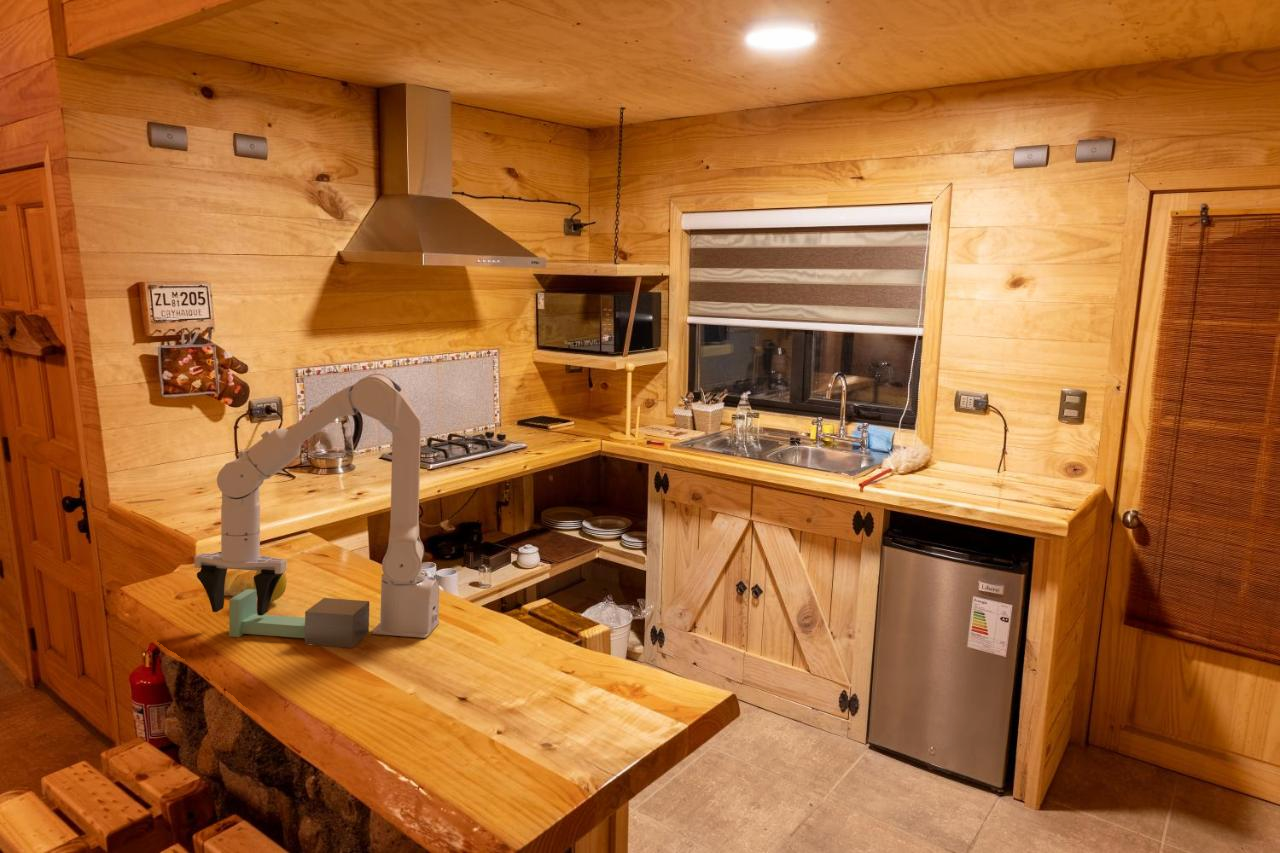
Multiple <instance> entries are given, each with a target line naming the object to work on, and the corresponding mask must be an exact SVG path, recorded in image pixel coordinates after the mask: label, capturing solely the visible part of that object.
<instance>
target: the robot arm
mask: <svg viewBox="0 0 1280 853" xmlns="http://www.w3.org/2000/svg"><path fill="white" fill-rule="evenodd" d="M359 412H360V413H361V414H363V415H365V416H367V417H370V418H371V419H374V420H377V421H378V422H379V423H380V424H382V426H384V427H385V428H386V429H387V430H388V431H389V432H391V434H392V442H391V443H392V444H391V445H392V446H391V447H392V448H391V449H392V450H391V483H390V484H391V487H390V523H389V524H390V525H389V526H390V527H389V533H388V545H387V550H386V553H385V555H384V556H383V559H382V562H381V567H382V568H381V569H382V572H383V574H381V579H380V585H381V586H380V617H379V618H380V621H379V623H378V624H377V625H376V626H375V627H374V628H373V629H372V630H371V632H370V633H371V634H372V635H381V636H382V635H383V636H395V637H396V636H399V637H410V638H422V639H423V638H424V639H426V638H427V637H428V636H429V635H430V634H431V633H432V632H433V630H434V629H435V628H436V627H437V626H438V624H439V623H440V619H439V614H440V612H439V610H440V609H439V608H440V585H439V582H438V581H437V580H434V579H430V578H427V577H426V573H425V572H424V571H423V569H422V560H423V558H424V554H425V547H424V544H423V542H422V541H421V537H420V524H419V523H420V522H419V518H420V516H419V512H420V508H419V507H420V504H419V503H420V482H421V481H420V480H421V479H420V476H421V471H420V470H421V444H422V442H421V441H422V436H421V435H422V421H421V417H420V415H419V414H418V412H417V410H416V409H415V408H414V406H413V405H412V403H411V402H410V400H409V398H408V397H407V395H406V394H405V392H404V390H403V388H402V386H401V385H399V383H397V382H396V381H394V379H392V378H390V377H388V376H387V375H385V374H383V373H372V374H369V375H367V376H365V377H363V378H361V379H359V380H358V381H357V382H355V383H353V384H352V385H348V386H347V387H345V388H343V389H341V390H339V391H336V393H333V394H332V395H330V396H329V397H328V398H326V400H324V401H323V402H321V403H320V404H319V405H318V406H317V407H315V408H314V409H313V410H311V412H309V413H308V414H306V415H305V416H304V417H303V418H302V419H300V420H299V421H298V422H297V423H294V425H293V426H291V427H290V428H289V429H287V428H274V429H273V430H272V431H271V430H270V429H268V430H266V431H264V432H263V433H262V434H260V437H261V438H262V439H260V440H259V441H257V442H256V443H254V444H253V445H252V446H251V447H249V448H248V449H247V450H245V449H242V450H240V451H239V452H238V453H237V457H238V458H236V459H234V460H233V461H230V462H226V463H225V464H224V466H223V467H222V468H221V469H220V470H219V472H218V474H217V477H216V483H217V488H218V489H219V490H220V492H221V507H220V508H221V510H220V529H221V530H220V534H221V536H220V538H221V540H220V541H221V542H220V546H221V547H220V548H221V549H220V550H221V551H220V552H221V553H199V554H197V555H195V556H194V557H193V558H194V560H193V561H194V563H193V564H194V569H196V568H197V569H200V571H198V572H197V573H196V577H197V579H198V580H199V582H200V583H201V585H202V586H203V588H204V590H205V593H206V594H207V597H208V600H209V603H210V607H211V610H212V612H213V613H218V612H220V611H221V610H223V609H224V606H225V596H224V585H225V578H226V573H227V572H228V570H242V571H261V573H259V574H258V575H256V576H254V582H255V586H256V591H257V614H258V615H260V616H262V615H266V614H267V613H268V612H269V607H270V605H271V604H270V600H271V597H272V594H273V592H274V589H275V587H276V585H277V583H278V581H279V579H280V577H281V576H282V574H283V572H285V573H286V571H287V559H284V558H278V557H277V558H276V557H272V556H267V555H263V554H260V553H261V550H260V548H261V544H260V543H261V535H260V534H261V503H260V487H261V486H262V484H263V483H264V481H265V480H269V479H271V477H273V476H275V475H276V474H278V473H279V472H280V471H281V470H282V469H284V468H285V467H286V466H288V465H289V464H291V462H294V460H296V459H297V458H298V457H300V456H301V450H302V444H303V443H304V442H306V441H307V440H308V439H311V437H313V436H314V435H315V434H317V433H318V432H320V431H321V430H323V429H324V428H326V427H327V426H328V425H329V424H331V423H333V422H334V421H335V420H337V419H338V418H341V417H349V416H355V415H356V414H358V413H359Z"/></svg>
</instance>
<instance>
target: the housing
mask: <svg viewBox="0 0 1280 853" xmlns="http://www.w3.org/2000/svg"><path fill="white" fill-rule="evenodd" d="M304 614H305V615H304V616H305V617H304V618H305V638H304V645H305V644H313V645H312V646H317V645H320V646H322V647H332V648H334V647H335V648H346V649H353V648H354V647H355V646H356V645H357V644H358V643H360V642H361V640H362V639H364V638H365V637H366V636H367V635H368V634H369V632H370V631H369V630H370V601H369V600H360V599H348V598H347V599H346V598H345V599H344V598H331V597H330V598H329V597H323V598H322V599H321V600H319V601H318V602H316V603H315V604H314V605H312V606H311V607H309V608H307V609H306V611H305V613H304ZM320 646H319V647H320Z"/></svg>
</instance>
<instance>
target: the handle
mask: <svg viewBox="0 0 1280 853" xmlns="http://www.w3.org/2000/svg"><path fill="white" fill-rule="evenodd" d="M228 601H229V602H228V603H229V604H228V605H229V606H228V610H229V611H228V612H229V614H228V616H229V618H228V619H229V621H228V624H229V626H228V627H229V628H228V629H229V630H228V632H229V633H228V635H229V636H228V637H234V638H240V637H241V636H242V635H246V634H248V635H258V636H259V635H260V636H270V637H271V636H272V637H286V638H296V639H297V638H299V639H305V617H303V616H302V617H301V616H290V615H289V616H288V615H287V616H286V615H274V614H264V615H262V616H260V615H258V613H257V591H256V590H254V589H247V590H245V591H243V592H242V593H240V594H238V595H236V596H235V597H231V598H230V599H229V600H228Z"/></svg>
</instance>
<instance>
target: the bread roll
mask: <svg viewBox="0 0 1280 853" xmlns="http://www.w3.org/2000/svg"><path fill="white" fill-rule="evenodd" d="M255 573H256V571H252V570H248V571H246V570H238V569H233V570H230V571H227V573H226V578H225V585H224V597H231V598H233V597H235V596H236V595H238V594H240V593H242V592H243V591H245V590H247V589H254V587H253V581H254V576H255Z"/></svg>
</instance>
